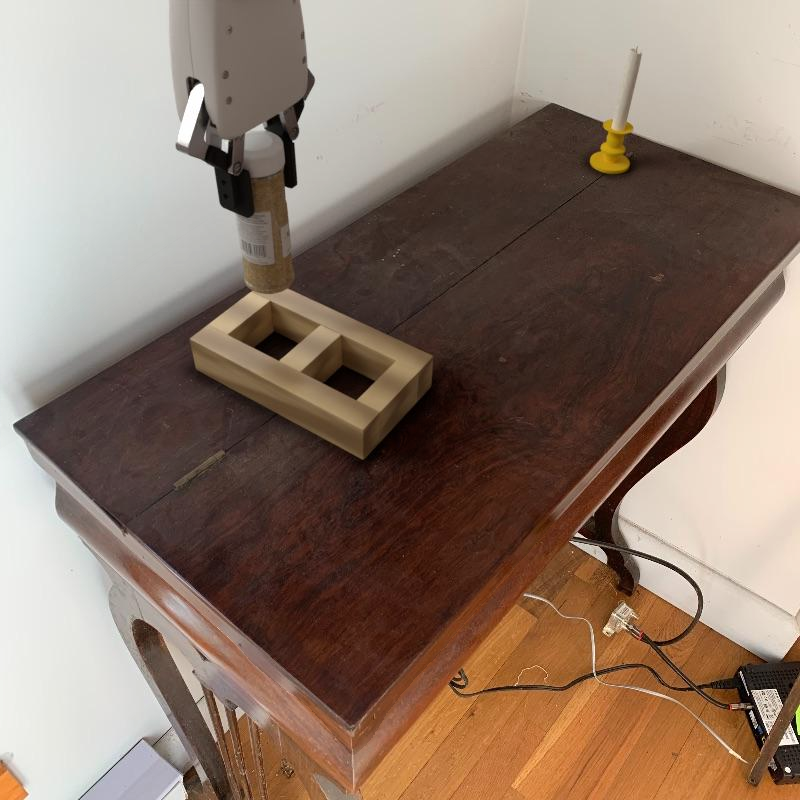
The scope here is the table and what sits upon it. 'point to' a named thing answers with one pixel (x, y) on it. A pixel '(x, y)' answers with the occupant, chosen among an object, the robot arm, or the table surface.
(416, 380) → the holder
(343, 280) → the table surface
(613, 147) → the candle
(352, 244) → the table surface
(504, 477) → the table surface
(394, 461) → the table surface
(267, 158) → the sprinkles bottle
